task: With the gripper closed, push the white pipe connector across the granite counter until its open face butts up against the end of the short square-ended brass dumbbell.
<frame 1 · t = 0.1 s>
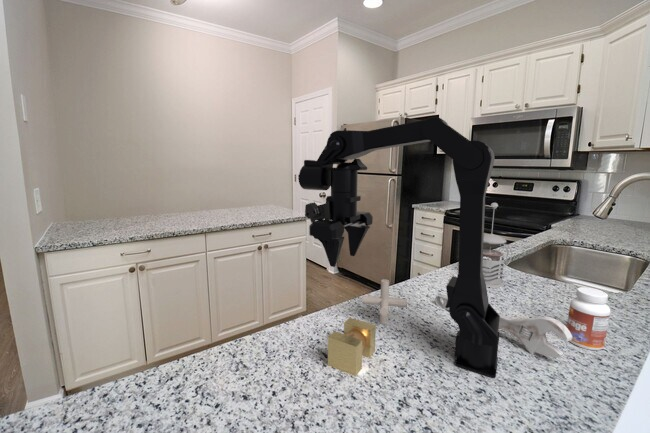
hand: (343, 260, 69), 15 cm above the countertop, tool pointing down, fingers open, 9 cm apart
wrench: (488, 331, 67), on the countertop
pill bottle: (583, 343, 63), on the countertop
pipe connector: (383, 322, 71), on the countertop
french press: (489, 282, 95), on the countertop
square-ended brass dumbbell: (352, 358, 57), on the countertop
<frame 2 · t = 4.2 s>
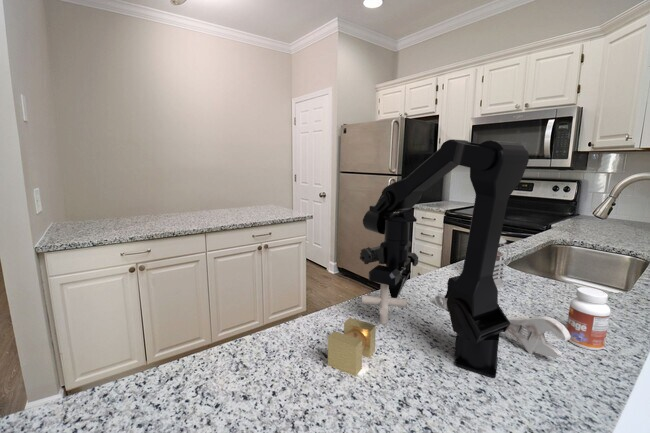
hand: (394, 299, 76), 3 cm above the countertop, tool pointing down, fingers closed
pipe connector: (383, 322, 71), on the countertop, touching gripper
everything else where it was.
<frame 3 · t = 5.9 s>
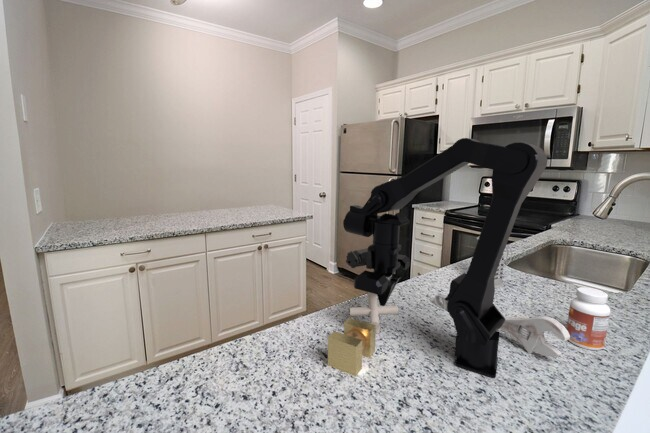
hand: (382, 305, 71), 4 cm above the countertop, tool pointing down, fingers closed
pipe connector: (375, 331, 67), on the countertop, touching gripper
everything else where it was.
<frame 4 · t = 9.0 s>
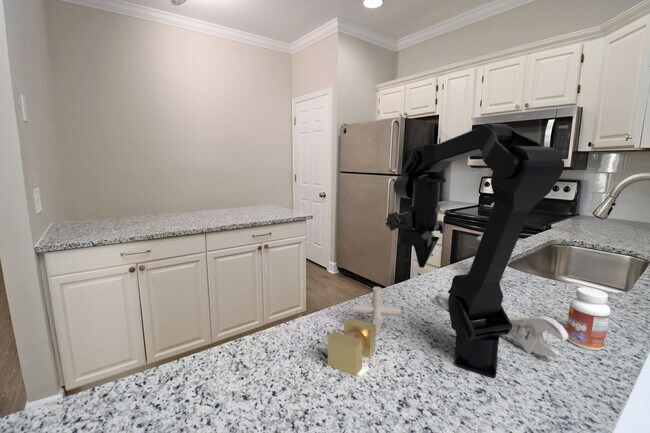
hand: (421, 267, 72), 12 cm above the countertop, tool pointing down, fingers closed
pipe connector: (375, 332, 66), on the countertop
everything else where it was.
at the end: pipe connector inside the target area on the countertop beside the square-ended brass dumbbell (0.8 cm from its centre), on the countertop; pipe connector moved 5.0 cm from its start; square-ended brass dumbbell moved 0.1 cm from its start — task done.
